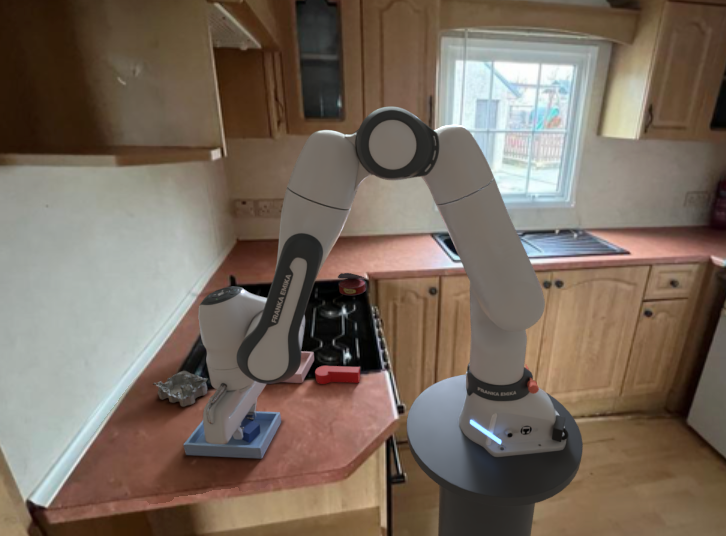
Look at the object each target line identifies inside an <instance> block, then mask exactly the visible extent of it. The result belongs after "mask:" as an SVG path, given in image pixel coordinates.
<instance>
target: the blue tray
mask: <svg viewBox="0 0 726 536" xmlns="http://www.w3.org/2000/svg"><path fill="white" fill-rule="evenodd" d="M281 415H282V414H281V412H280V411H259V410H256V417H255V419H254V420H253V422H256V423H258V424H260V434H259V435H258V436H257V437H256V438H255V439H254V440H252V441H251V442H250V443H249V442H246V441H244V440H242V439H241V440H238V439H234V438H233V435H232V437H231V438H230V440H229V441H228V443H227V444H211V443H208V442H207V441H206V439H205V433H204V425H203V419H202V421H200V423H199V424H198V425H197V427H196V428H195V429H194V431H193V432H192V433H191V435H189V437H188V438H187V439H186V441H184V443H183V448H184V453H185V455H186V456H197V457H198V456H199V457H221V458H239V459H240V458H241V459H242V458H243V459H261V460H262V459H263V458H264V455H265V454H266V452H267V450H268V448H269V446H270V444H271V442H272V441H273V438H274V437H275V435H276V433H277V431H278V430H279V427H280V425H281V424H282V416H281ZM244 418H245V417H244Z"/></svg>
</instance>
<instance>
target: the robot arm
mask: <svg viewBox="0 0 726 536" xmlns="http://www.w3.org/2000/svg"><path fill="white" fill-rule="evenodd" d="M371 176H375V177H377V178H379V179H381V180H385V181H402V180H403V181H404V180H407V179H413V178H421V179H422V180H423V182H424V183H425V184H426V186H427V188H428V189H429V192H430V194H431V196H432V198H433V201H434V203H435V206H436V208H437V210H438V212H439V214H440V216H441V219H442V221H443V223H444V227H445V229H446V230H447V232H448V235H449V237H450V239H451V242H452V243H453V246H454V248H455V251H456V253H457V256H458V257H459V260H460V262H461V264H462V267H463V269H464V272H465V274H466V276H467V278H468V281H469V321H470V344H469V345H470V346H469V362H468V364H467V367H466V372H465V375H466V391H467V394H466V399H465V403H464V407H463V410H462V412H461V414H460V417H459V425H460V428H461V430H462V432H463V433H464V434H465V435H466V436H467V437H468V438H469V439H470V440H472V441H473V442H475V443H477V444H479V445H481V446H482V447H484V448H485V449H486V450H487V451H488V452H489V453H490V454H491V455H492V456H494V457H504V456H513V455H522V454H532V453H541V452H551V451H560V450H563V449H564V447H565V445H566V439H567V438H568V432H567V430H566V429H565V426H564V424H565V417H563V416H560V415H559V414H558V412H557V411H556V410H555V409H554V406H553V404H552V401H551V399H550V398H549V396H548V395H547V393H548V392H547V391H545V390H544V389H542V388H541V387H539V385H538V382H537V381H536V380H534V375H533V373H532V372H531V371H530V368H529V366H528V364H526V352H527V344H528V335H527V330H528V329H530V328H532V327H533V326H534V325H536V324H537V323H538V322H539V320H540V319H541V318H542V316H543V314H544V311H545V307H546V301H545V297H544V291H543V289H542V285H541V283H540V281H539V277H538V276H537V274H536V271H535V269H534V266H533V264H532V261H531V260H530V258H529V257H530V256H529V255H528V253H527V251H526V248H525V247H524V244H523V242H522V240H521V237H520V236H519V234H518V231H517V230H516V228H515V226H514V223H513V222H512V219H511V217H510V214H509V212H508V209H507V207H506V203H505V202H504V198H503V196H502V194H501V191H500V189H499V185H498V183H497V181H496V178H495V176H494V173H493V171H492V168H491V166H490V164H489V161H488V159H487V157H486V155H485V154H484V152H483V150H482V148H481V146H480V145H479V143H478V141H477V140H476V139H475V137H474V135H473V134H472V132H471V131H470V129H468V128H466V127H465V126H463V125H461V124H460V125H458V124H449V125H443V126H440V127H439V128H437V129H433V128H431V127H430V126H429V125H428V124H427V123H425V122H424V121H422V120H421V119H420V118H419V117H417V116H416V114H414V113H412V112H411V111H408V110H407V109H405V108H402V107H398V106H384V107H380V108H378V109H375V110H373V111H371V112H370V113H369V114H368V115H367V116H365V118H364V119H363V120H362V122H361V123H360V125H359V127H358V128H357V130H355V131H354V132H353V133H351V134H346V133H343V132H339V131H336V130H331V129H322V130H317V131H314V132H313V133H311V134H310V135H309V137H308V138H307V139H306V141H305V143H304V145H303V147H302V148H301V150H300V152H299V155H298V157H297V158H296V161H295V163H294V165H293V168H292V171H291V174H290V176H289V179H288V182H287V186H286V189H285V192H284V196H283V201H282V207H281V211H280V212H281V213H280V220H279V221H280V222H279V233H278V247H277V257H276V265H275V270H274V275H273V278H272V282H271V285H270V288H269V291H268V295H267V297H264V296H260V295H257V294H254V293H251V292H249V291H247V290H246V289H244V288H243V287H240V286H227V287H222V288H219V289H216V290H215V291H212V292H211V293H209V294H207V295H206V296H205V297H204V298H203V299H202V300H201V302H200V304H198V305H199V306H198V314H197V315H198V325H199V332H200V338H201V339H200V340H201V342H202V345H203V347H204V348H205V350H206V357H205V358H206V367H207V372H208V376H209V381H210V385H211V386H212V388H214V389H215V392H214V393H213V394H212V395H211V396H210V397H209V398H208V401H207V403H206V404H205V406H204V408H203V412H202V413H203V414H202V420H203V425H204V433H205V439H206V441H207V442H208V443H211V444H227V443H228V441H229V440H230V438H231V437H232V435H233V438H234V439H238V440H241V439H242V438H243V436H244V435H245V428H244V427H240V425H241V422H242V420H243V419H244V417H245V418H247V419H249V420H251V421H253V420H254V419H255V417H256V411H257V405H258V398H259V397H260V395H261V394H262V392H263V390H264V389H265V387H266V386H267V385H273V384H278V383H284V382H283V381H285V380H287V379H289V378H291V377H292V376H293V375H294V374H295V373H296V372H297V371H298V369H299V367H300V363H301V351H302V347H303V341H304V336H305V327H306V316H305V314H306V310H307V307H308V304H309V301H310V297H311V294H312V291H313V289H314V286H315V283H316V280H317V278H318V276H319V274H320V272H321V270H322V268H323V266H324V264H325V263H326V261H327V258H328V257H329V255H330V254H331V251H332V250H333V248H334V247H335V244H336V242H337V241H338V239H339V237H340V235H341V233H342V232H343V229H344V227H345V224H346V222H347V220H348V217H349V215H350V212H351V209H352V206H353V203H354V200H355V198H356V194H357V192H358V190H359V188H360V186H361V184H362V183H363V182H364V181H365V179H367V178H369V177H371Z"/></svg>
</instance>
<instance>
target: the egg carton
mask: <svg viewBox="0 0 726 536" xmlns="http://www.w3.org/2000/svg"><path fill="white" fill-rule="evenodd" d="M208 380H209V378H207V377H206V378H205V377H202V376H199V374H198V375H197V374H194V373H190V372H189V371H187V370H182V371H179V372H177V373H176V374H173V375H172V376H171V377H167V379H166V381H165V382H164V383H163V382H162V380H161V381H158V382H153V383H152V385H155V386H156V387H158V390H157V395H158V398H159V399H160V400H166V399H168V400H169V402H170V403H172V404H175V403H177V402H179V405H180V407H183V408H184V407H187V406H190V405H193V404H194V403H196V399H197V398H198V397H201V396H205V395H207V394H208V385H207V381H208Z"/></svg>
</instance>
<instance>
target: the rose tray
mask: <svg viewBox="0 0 726 536" xmlns="http://www.w3.org/2000/svg"><path fill="white" fill-rule="evenodd" d="M314 362H315V353H314V351H302V350H301V363H300V367H299V369H298V371H297V372H296V373H295V374H294V375H293V376H292V377H291V378H289V379H287V380H285V381H283V382H282V383H293V384H294V383H295V384H302V383H303V382H304V380H305V379H306V376H307V375H308V373H309V371H310V369H311V367H312V366H313V363H314Z"/></svg>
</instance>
